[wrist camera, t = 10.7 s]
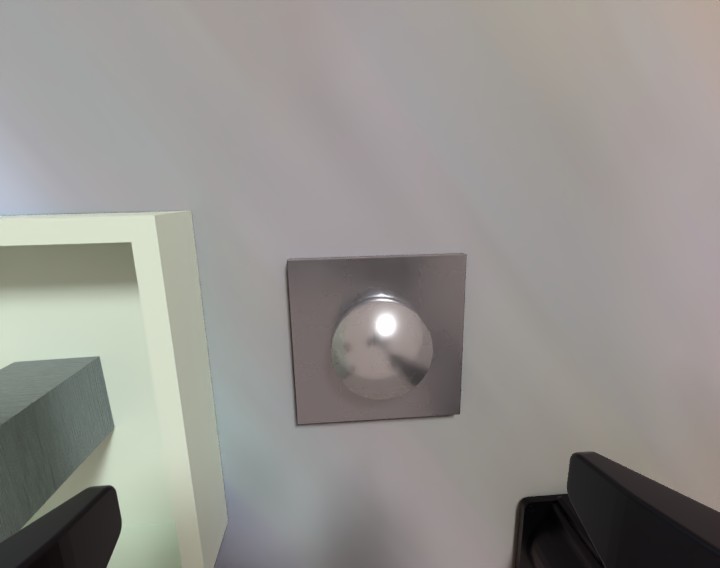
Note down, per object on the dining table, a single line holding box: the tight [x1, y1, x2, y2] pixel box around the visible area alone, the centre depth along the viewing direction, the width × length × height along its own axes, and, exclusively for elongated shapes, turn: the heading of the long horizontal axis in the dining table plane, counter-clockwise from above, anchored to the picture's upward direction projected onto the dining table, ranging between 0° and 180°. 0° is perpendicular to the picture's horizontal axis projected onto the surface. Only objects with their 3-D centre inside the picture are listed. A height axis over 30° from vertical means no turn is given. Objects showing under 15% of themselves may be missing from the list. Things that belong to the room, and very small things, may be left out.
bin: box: [0, 211, 228, 568], centre depth 18 cm, size 18×14×4 cm
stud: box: [287, 253, 467, 424], centre depth 20 cm, size 9×9×2 cm
